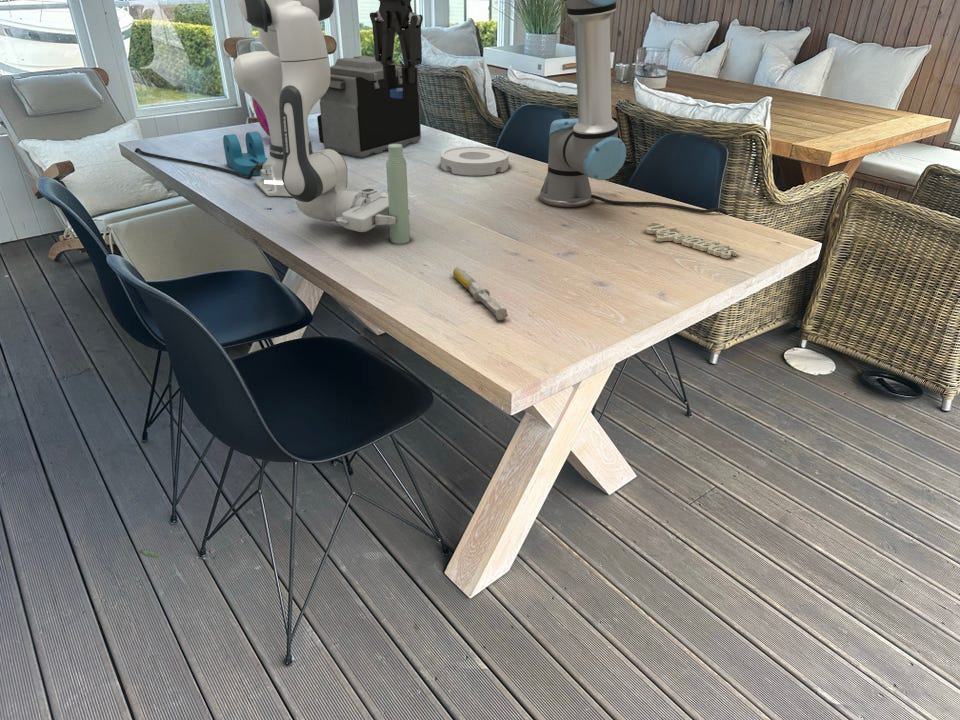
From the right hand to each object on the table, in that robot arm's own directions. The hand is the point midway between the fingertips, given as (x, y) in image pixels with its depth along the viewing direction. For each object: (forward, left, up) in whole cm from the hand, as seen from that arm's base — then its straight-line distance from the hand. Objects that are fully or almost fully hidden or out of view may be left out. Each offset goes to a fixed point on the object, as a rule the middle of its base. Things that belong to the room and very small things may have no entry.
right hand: (400, 96), depth 156 cm
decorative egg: (+96, -72, -34) cm, 125 cm away
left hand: (0, +1, -28) cm, 28 cm away
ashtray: (+15, -71, -34) cm, 80 cm away
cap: (0, 0, +1) cm, 1 cm away
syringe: (-31, +23, -34) cm, 51 cm away
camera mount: (+80, -34, -34) cm, 93 cm away
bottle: (+1, +1, -34) cm, 34 cm away
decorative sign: (-64, -30, -34) cm, 79 cm away
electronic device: (+62, -79, -34) cm, 106 cm away
